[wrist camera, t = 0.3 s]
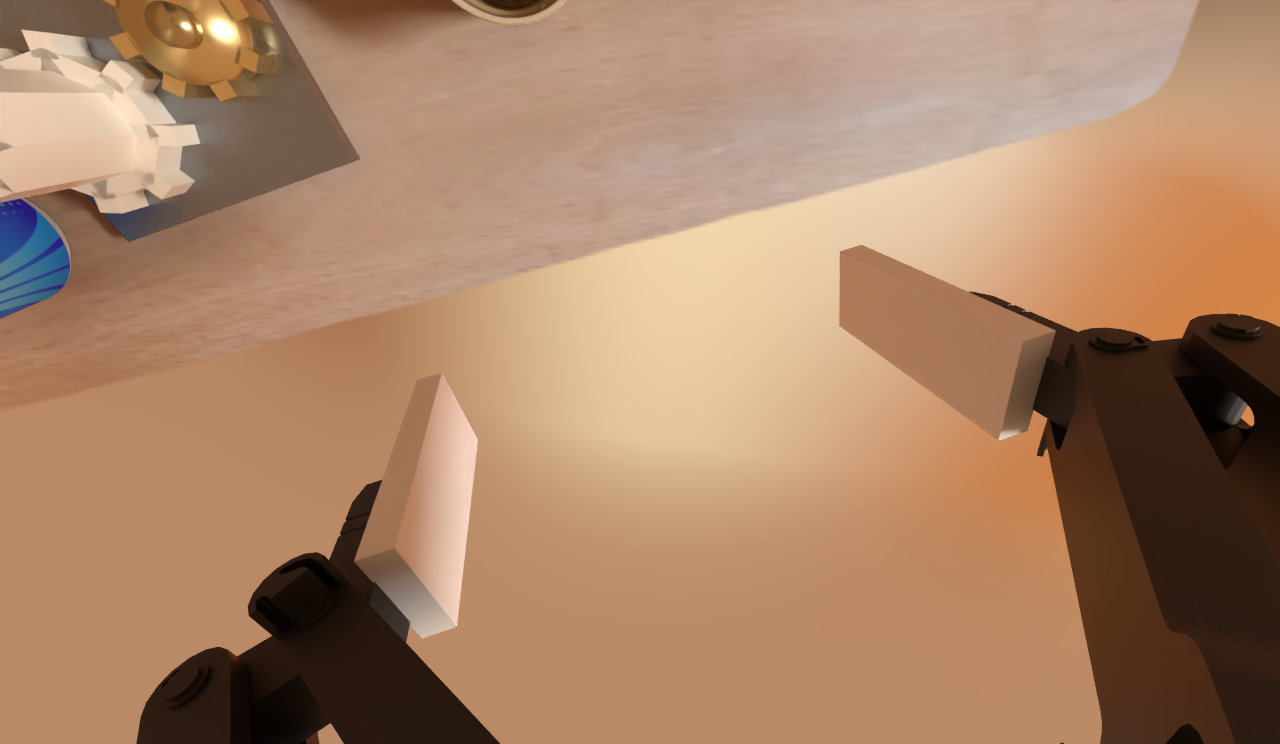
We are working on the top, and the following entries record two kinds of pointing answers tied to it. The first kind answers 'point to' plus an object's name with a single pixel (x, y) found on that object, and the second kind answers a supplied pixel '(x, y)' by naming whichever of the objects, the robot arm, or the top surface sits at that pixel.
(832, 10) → the top surface
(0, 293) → the beer can
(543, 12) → the flower pot
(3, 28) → the plate
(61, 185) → the planet gear
